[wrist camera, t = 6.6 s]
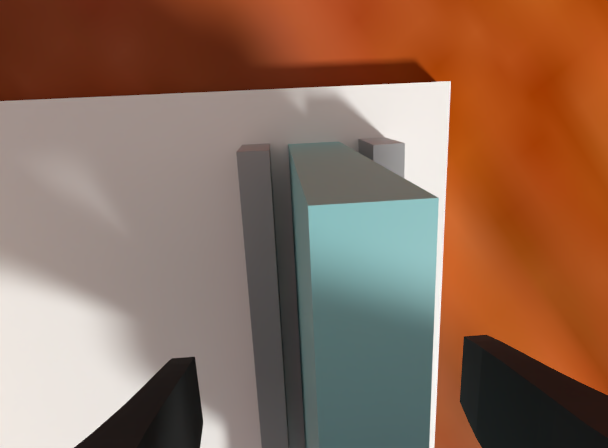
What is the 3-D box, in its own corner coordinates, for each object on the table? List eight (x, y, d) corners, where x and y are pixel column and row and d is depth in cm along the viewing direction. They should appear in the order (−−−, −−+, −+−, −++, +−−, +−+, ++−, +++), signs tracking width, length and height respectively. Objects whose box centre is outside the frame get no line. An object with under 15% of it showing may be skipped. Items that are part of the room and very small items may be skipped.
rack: (423, 473, 17) (465, 577, 13) (-204, 529, 16) (-354, 662, 12) (438, 83, 13) (504, 73, 9) (-396, 119, 12) (-708, 126, 8)
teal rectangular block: (347, 471, 16) (415, 817, 8) (306, 474, 16) (336, 827, 8) (339, 141, 13) (438, 197, 5) (288, 144, 13) (308, 205, 5)
